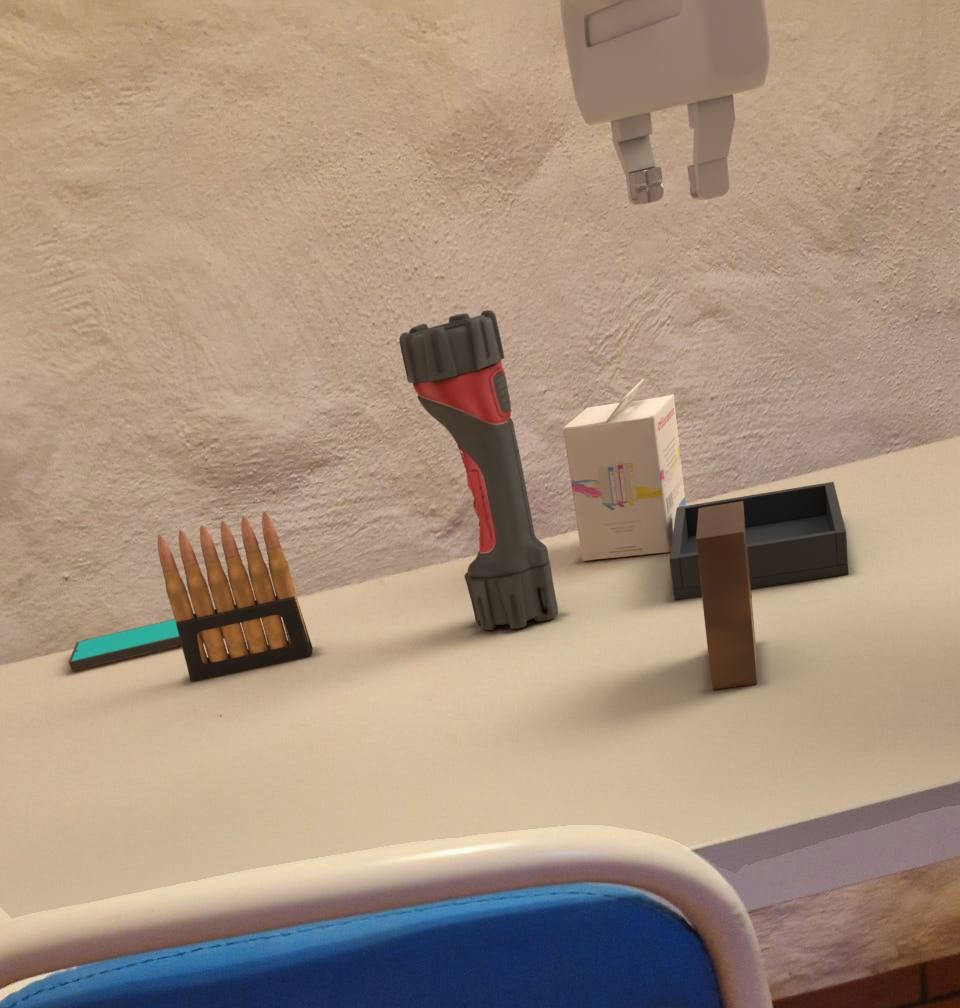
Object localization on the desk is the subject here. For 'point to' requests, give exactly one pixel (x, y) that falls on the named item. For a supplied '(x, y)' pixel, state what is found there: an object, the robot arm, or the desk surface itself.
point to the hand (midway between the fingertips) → (677, 200)
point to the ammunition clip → (227, 611)
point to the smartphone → (125, 644)
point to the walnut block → (726, 595)
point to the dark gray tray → (771, 538)
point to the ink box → (625, 476)
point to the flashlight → (484, 464)
